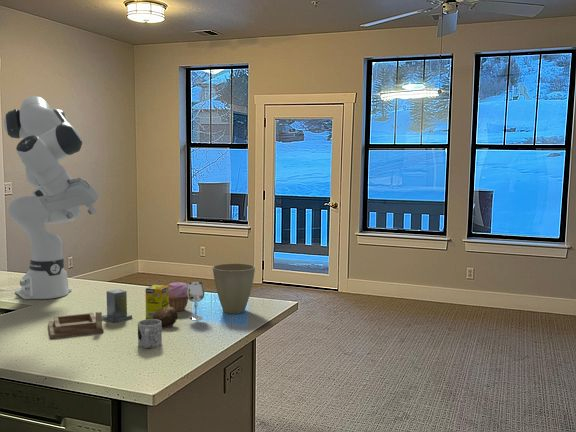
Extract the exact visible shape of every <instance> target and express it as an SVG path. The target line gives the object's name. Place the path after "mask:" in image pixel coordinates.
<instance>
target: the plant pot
mask: <svg viewBox="0 0 576 432" xmlns="http://www.w3.org/2000/svg"><path fill="white" fill-rule="evenodd" d="M212 272H213V278H214V285H215V289H216V293H217V298H218V300H219V303H220V306H221V308H222V311H223V312H224V313H225V314H231V315H232V314H233V315H235V314H241V313H244V312H245V310H246V308H247V305H248V302H249V298H250V296H251V292H252V289H253V283H254V279H255V278H254V277H255V272H256V266H255V265H253V264H249V263H238V262H237V263H236V262H235V263H234V262H233V263H231V262H230V263H222V264H216V265H213V266H212Z"/></svg>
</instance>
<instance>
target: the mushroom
mask: <svg viewBox="0 0 576 432" xmlns="http://www.w3.org/2000/svg"><path fill="white" fill-rule="evenodd" d="M178 315H179V314H178V311H176V309H174V308H173V307H166V308H162V309H159V310H158V311H156V312H155V314H154V315H153V319H157V320H160V321H161V323H162V328H169V327H172V326H173V325H174V324H176V322H177V320H178Z"/></svg>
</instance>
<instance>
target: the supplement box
mask: <svg viewBox="0 0 576 432" xmlns="http://www.w3.org/2000/svg"><path fill="white" fill-rule="evenodd" d="M166 307H169V286H168V285H160V284H153V285H151V286H149V287H145V320H147V319H153V315H154V314H155V312H156V311H158V310H159V309H162V308H166Z"/></svg>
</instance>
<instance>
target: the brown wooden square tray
mask: <svg viewBox="0 0 576 432" xmlns="http://www.w3.org/2000/svg"><path fill="white" fill-rule="evenodd" d="M102 316H103V314H102V311H96V312H95V314H94V312H87V313H78V314H77V313H76V314H68V315H59V316H53V320H51V321H48V330H49V335H50V339H59V338H68V337H69V338H70V337H78V336H79V337H80V336H86V335H96V334H103V333H104V327H103V319H102Z"/></svg>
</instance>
